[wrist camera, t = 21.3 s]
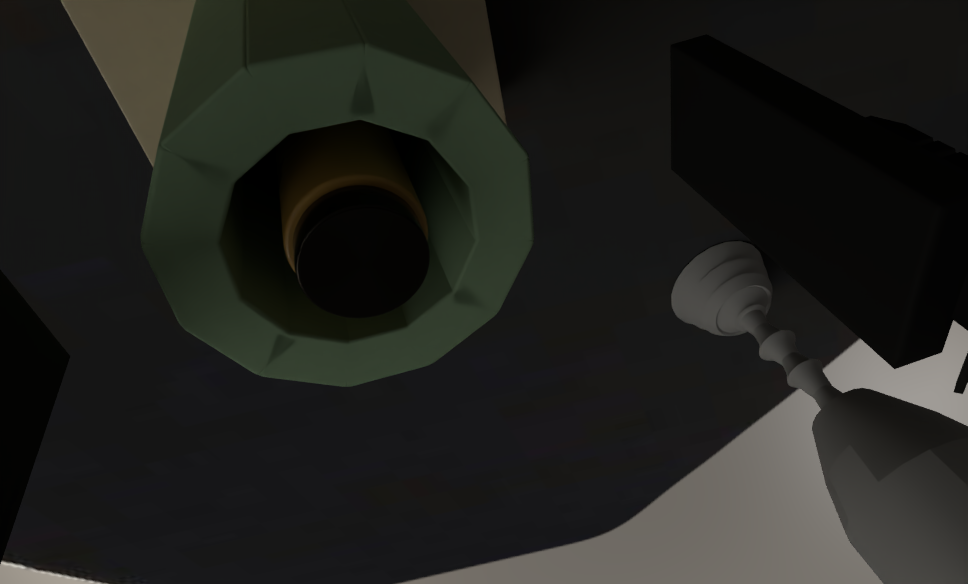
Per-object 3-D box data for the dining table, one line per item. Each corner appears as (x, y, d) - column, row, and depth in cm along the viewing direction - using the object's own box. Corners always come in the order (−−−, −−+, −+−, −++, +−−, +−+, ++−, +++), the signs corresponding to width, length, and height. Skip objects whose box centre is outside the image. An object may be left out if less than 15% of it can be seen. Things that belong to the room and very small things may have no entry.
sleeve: (216, -102, 17) (190, -22, 9) (458, 0, 20) (594, 125, 12) (166, 143, 20) (115, 360, 12) (383, 198, 23) (454, 401, 15)
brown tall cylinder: (253, 25, 20) (260, 226, 10) (337, 2, 20) (419, 177, 11) (285, 106, 22) (316, 344, 12) (362, 84, 22) (453, 299, 12)
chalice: (806, 231, 33) (1215, 544, 19) (744, 339, 37) (1053, 671, 23) (685, 218, 30) (1058, 570, 16) (631, 336, 34) (901, 710, 20)
